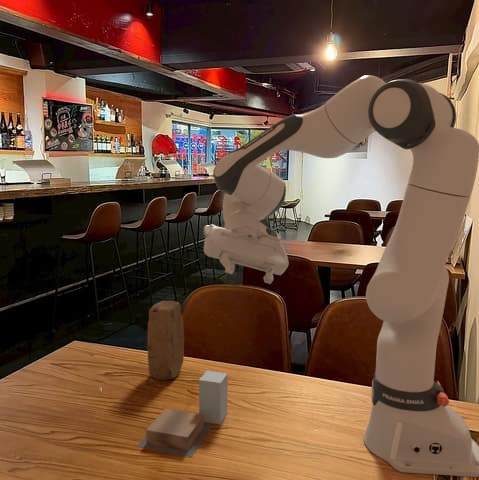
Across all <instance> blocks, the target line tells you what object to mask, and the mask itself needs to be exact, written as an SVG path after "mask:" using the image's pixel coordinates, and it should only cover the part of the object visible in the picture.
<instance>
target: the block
mask: <svg viewBox="0 0 479 480" xmlns="http://www.w3.org/2000/svg"><path fill="white" fill-rule="evenodd" d="M181 309H182V308H181V304H180V303H179V302H178V301H175V300H161V301H158V302H157V303H154V304H153V305H152V307H151V308H149V310H148V322H147V363H148V364H147V365H148V374H149V376H150V377H151V378H153V379H156V380H159V381H168V380H171V379H175V378H176V377H178V376H179V375H180V372H181V370H182V366H183V364H184V357H185V356H184V355H185V354H184V353H185V350H184V349H185V335H184V334H185V331H184V330H185V329H184V320H183V315H182V313H181V312H182V311H181Z"/></svg>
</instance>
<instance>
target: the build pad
mask: <svg viewBox="0 0 479 480" xmlns="http://www.w3.org/2000/svg"><path fill="white" fill-rule="evenodd" d="M212 427H213V424H209V423H204V428H203V429H202V431H201V432H200V434H199V435H198V437H197V438H196V440H195V441H194V443H193V444H192V446H191V447H190V449H189V450H188V451H183V450H178V449H173V448H167V447H162V446H157V445H151V444H147V442H146V435H145V436H144V437H143V438H142V439H141V440H140V442H139V443H137V444H136V448H142V449H147V450H153V451H157V452H162V453H168V454H172V455H178V456H184V457H189V458H192V457H193V456H194V455H195V453H196V451H197V450H198V449H199V447H200V446H201V444H202V443H203V441H204V440H205V438H206V436H207V435H208V433H209V432H210V430H211V429H212Z"/></svg>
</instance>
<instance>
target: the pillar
mask: <svg viewBox="0 0 479 480" xmlns="http://www.w3.org/2000/svg"><path fill="white" fill-rule="evenodd" d="M228 380H229V379H228V373H226V372H219V371H214V370H213V371H211V370H206V371H205V372H204V373H203V374H202V376H201V377H200V378H199V379H198V393H199V394H198V414H202V415H204V422H205V423H210V424H217V425H221V424H222V423H223V421H224V419H225V418H226V416H227V414H228V394H229V392H228V388H229V387H228V385H229V384H228V383H229V382H228Z"/></svg>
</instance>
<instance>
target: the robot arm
mask: <svg viewBox="0 0 479 480" xmlns="http://www.w3.org/2000/svg"><path fill="white" fill-rule="evenodd" d="M456 121H457V112H456V108H455V105H454V103H453V101H451V99H450V98H449V97H448V96H447V95H445V94H444V93H441V92H439V91H437V89H435V88H434V87H432V86H430V85H428V84H425V83H422V82H417V81H415V80H413V79H407V78H406V79H403V78H402V79H400V78H399V79H394V80H391V81H389V82H385V81H384V80H383V79H382V78H380V77H379V76H375V75H372V74H371V75H370V74H369V75H363V76H361V77H359V78H358V79H356V80H354V81H352V82H351V83H349V84H348V85H346V86H345V87H344V88H342V89H340V90H339V91H337V93H335V94H334V95H333V96H332V97H331V98H329V99H328V100H326V102H325V103H323V104H322V105H320V106H319V107H318V108H316V109H313V110H311V111H309V112H306V113H302V114H291V115H289V116H286V117H284V118H282V119H281V120H279V121H277V122H276V123H274V124H273V125H272V126H270V127H268V128H267V129H266V130H264V131H263V132H261V133H260V134H258V135H256V136H255V137H254V138H252V139H251V140H249V141H248V142H246V143H244V144H243V145H242V146H240V147H239V148H236V149H234V150H232V151H229V152H227V153H225V154H224V155H223V156H222V157H221V158H220V159H219V160H218V161H217V163H216V164H215V166H214V168H213V180H214V182H215V185H216V188H217V190H218V191H220V192H223V193H224V196H223V199H222V200H223V201H222V216H223V217H222V218H223V221H224V226H223V227H222V226H217V225H215V224H209V225H207V224H206V225H204V226H203V235H204V236H205V238H204V242H203V253H204V254H205V255H206V256H207V257H209V258H213V259H217V260H219V262H220V263H221V265H222V266H223V267H224V269H225V271H224V272H225V273H227V274H229V275H230V274H231V275H232V274H233V273H234V272H235V271H236V265H240V266H242V267H243V266H244V267H247V268H250V269H255V270H259V271H262V272H265V275H264V276H263V277H262V278H263V282H264V283H266V284H269V285H271V284H272V283H273V281H274V275H276V276H277V275H278V276H282V274H284V273H285V271H286V270H287V268H288V267H289V264H290V263H289V257H288V255H287V252H286V249H285V247H284V245H283V244H282V243H281V240H282V236H281V234H280V233H278V232H276V231H274V230H272V229H271V228H269V227H268V226H267V225H265V224H263V223H262V222H261V221H264V220H267V218H269V217H271V216H273V215H275V213H277V212H278V211H279V210H280V209H281V208H282V206H284V205H283V204H284V203H285V200H286V192H287V188H286V181H285V180H284V179H282V178H281V177H280V176H278V175H276V173H273V171H271V170H269V169H267V168H265V167H264V166H262V165H260V164H261V162H263V161H265V160H267V159H269V158H270V157H271V156H273V155H275V154H276V153H278V152H282V151H283V152H284V151H294V152H300V153H305V154H307V155H310V156H311V155H312V156H314V157H317V158H322V159H335V158H338V157H341V156H343V155H345V154H347V153H349V152H350V151H351V150H353V149H355V147H357V146H358V145H359V144H360V143H362V142H363V141H365V139H367V137H369V136H371V135H372V134H374V133H375V132H377V134H379V135H380V136H381V137H383V138H384V139H386V140H387V141H390V142H391V143H393V144H395V145H396V146H398V147H400V148H401V149H403V150H410V151H411V153H412V157H413V158H412V159H413V160H412V161H413V162H412V166H411V172H410V175H409V178H408V182H407V185H406V189H405V192H404V196H403V199H402V203H401V207H400V210H399V214H398V217H397V220H396V223H395V226H394V227H393V230H392V233H391V235H390V238H389V240H388V241H387V244H386V246H385V248H384V250H383V253H382V255H381V258H380V260H379V262H378V265H377V267H376V269H375V272H374V274H373V275H372V277H371V279H370V280H369V282H368V284H367V286H366V291H365V296H366V297H365V298H366V303H367V306H368V308H369V309H370V311H371V312H372V313H373V315H375V316H376V318H378V319H380V320H381V321H383V322H382V326H381V330H380V331H379V334H378V337H377V341H376V358H375V359H376V360H375V361H376V362H375V364H376V365H375V372H374V374H373V376H372V380H371V381H372V382H371V402H372V405H371V411H370V417H369V419H368V424H367V427H366V429H365V432H364V434H363V442H364V445H365V446H366V448H367V449H368V450H369V451H370V452H372V453H373V454H374V455H376V456H377V457H379V458H380V459H383V460H384V461H386V462H387V463H388V464H390V465H391V466H392V468H393V469H394V470H396V471H397V472H400V473H410V474H411V473H412V474H424V475H425V474H427V475H440V476H455V477H469V478H470V477H472V478H473V477H474V478H478V477H479V445H478V444H477V442H476V441H475V440H474V439H472V436H471V431H470V428H469V426H468V425H467V422H466V421H465V420H464V418H463V417H462V416H461V414H459V413H458V412H456V410H454V409H453V408H452V407H450V406H449V403H450V400H449V397H448V395H447V394H446V393H445V391H444V388H443V387H442V386H441V383H440V382H439V380H436V381H435V379H434V378H435V368H436V354H437V353H436V352H437V344H438V341H439V335H440V331H441V327H442V320H443V315H444V311H445V310H444V309H445V304H446V299H447V292H448V287H449V283H450V275H449V271H448V268H447V267H446V266H445V265H446V263H447V261H448V259H449V256H450V254H451V252H452V249H453V248H454V245H455V243H456V242H457V240H458V237H459V235H460V231H461V228H462V224H463V223H464V219H465V215H466V212H467V208H468V206H469V202H470V199H471V196H472V193H473V189H474V185H475V181H476V176H477V172H478V165H479V141H478V140H477V138H476V137H475V136H474V135H473V134H471V133H470V132H468V131H466V130H464V129H460V128H458V127H457V128H456V127H455V126H456ZM273 274H274V275H273Z"/></svg>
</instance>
